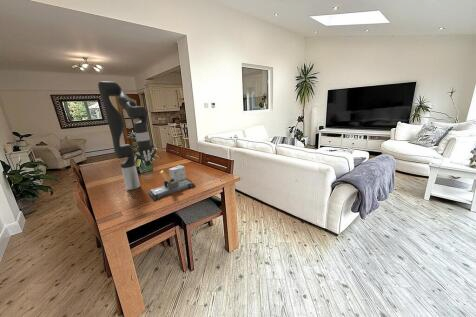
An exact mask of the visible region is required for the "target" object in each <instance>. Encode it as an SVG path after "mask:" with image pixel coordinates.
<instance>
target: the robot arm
mask: <svg viewBox="0 0 476 317" xmlns="http://www.w3.org/2000/svg"><path fill="white" fill-rule="evenodd" d="M97 84H98V85H97V88H98V91H99V95H100V97H101V101H102V103H103V106H104V110H105V116H106V119H107V124H108V127H109V131H110V134H111V139H112V140H111V141H112V144H113V145H112V146H113V151H114V154H115V157H116V158H117V159H118V160H120V159H121V160H122V159H125V158H126V159H125V160H124V161H122V162H121V163H120V168H121V172H122V176H123V179H124V184H125V189H126V190H127V191H131V190H136V189H139V188H140V187H141V184H140V179H139V175H138V170H137V167H136V166H137V165H136V160H135V157H137V158H138V159H140V160H141V161H144V162H145V165H146V166H147V167H151V165H152V164H151V163H152V162H151V160H152V159H153V158H154V157H155V155H156V153H157V150H156V149H153V147H152V144H151V138H150V134H149V131H148V126H147V123H148V110H147V108H146V107H145V106H143V105H142V106H141V105H139V106H138V105H137V104H136V102H135V101H134V100H132V99H131V98H130V97H129V96H128V95H127V94H126V93H125V91H124V89H123V88H122V87H121V85H120V84H119V83H117V82H116V81H107V80H106V81H105V80H103V81H102V80H101V81H100V80H99V82H98V83H97ZM110 97H118V99H117V100H118V101H117V102H118V104H119V105H120V106H121V107H122V108H123V109H124V110H125V111H126V113H127V114H126V115H127V116H128V117H129V119H132V120H137V119H139V121H137V122H135V123H133V130H134V133H135V140H136V145H137V152H135V154H134V149H133V147H132V144H129V143H126V144H120V143H121V142H120V141H121V137H122V135H123V132H124V130H125V121H124V117H123V115H122V113H121V112H120V111H119V110H118V109H117V108H116V107H115V106H114V105H113V103H112V102H111V99H110ZM141 155H142V156H143V157H142V156H141Z"/></svg>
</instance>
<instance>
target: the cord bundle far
mask: <svg viewBox="0 0 476 317" xmlns="http://www.w3.org/2000/svg"><path fill="white" fill-rule="evenodd" d="M187 180H188V179H187ZM188 181H189V182H191V184H192V185H189V188H191V189H192V188H194V187H196V184H195V183H193V182H192V181H190V180H188Z"/></svg>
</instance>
